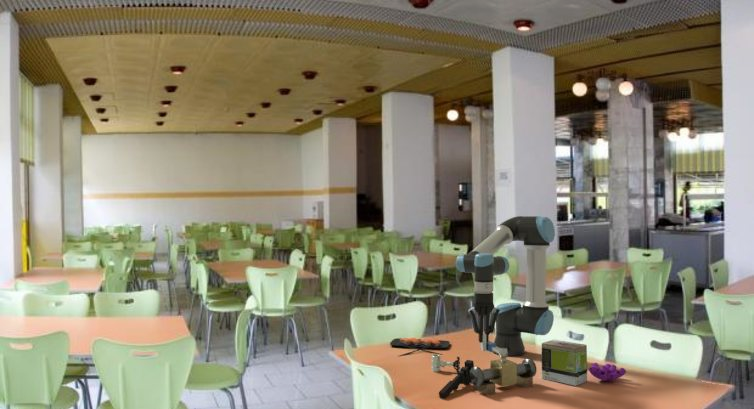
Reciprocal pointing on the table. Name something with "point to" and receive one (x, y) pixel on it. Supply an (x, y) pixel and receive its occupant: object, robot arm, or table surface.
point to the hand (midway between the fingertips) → (483, 350)
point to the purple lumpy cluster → (606, 372)
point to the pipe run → (503, 375)
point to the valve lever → (496, 349)
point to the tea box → (564, 362)
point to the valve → (443, 363)
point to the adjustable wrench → (458, 380)
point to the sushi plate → (419, 344)
